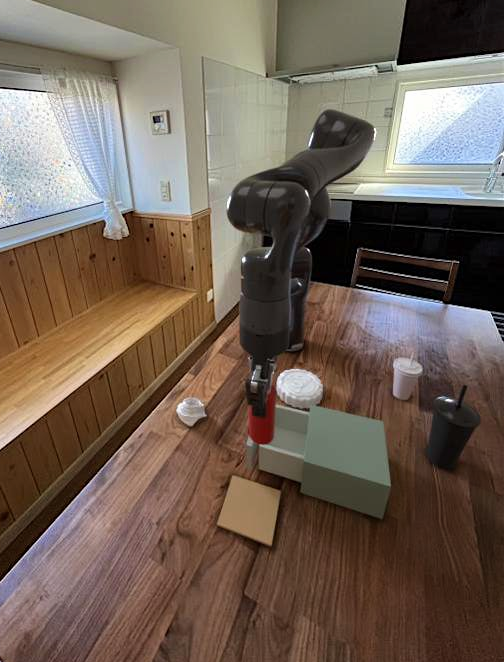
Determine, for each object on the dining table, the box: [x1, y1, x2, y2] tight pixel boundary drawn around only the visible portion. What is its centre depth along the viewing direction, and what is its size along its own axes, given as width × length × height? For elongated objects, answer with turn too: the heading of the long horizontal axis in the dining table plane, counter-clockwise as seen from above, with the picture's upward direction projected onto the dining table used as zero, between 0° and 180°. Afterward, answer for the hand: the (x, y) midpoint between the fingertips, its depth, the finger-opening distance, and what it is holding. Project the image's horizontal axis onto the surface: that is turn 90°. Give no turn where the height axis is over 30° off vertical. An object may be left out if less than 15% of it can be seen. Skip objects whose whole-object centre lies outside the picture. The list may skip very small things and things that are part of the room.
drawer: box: [245, 404, 310, 483], centre depth 72 cm, size 15×13×7 cm
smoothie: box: [392, 350, 424, 401], centre depth 85 cm, size 6×6×14 cm
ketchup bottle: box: [248, 379, 277, 445], centre depth 57 cm, size 4×4×12 cm
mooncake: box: [275, 368, 324, 410], centre depth 90 cm, size 12×12×4 cm
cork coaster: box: [216, 474, 282, 548], centre depth 64 cm, size 10×10×1 cm
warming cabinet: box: [300, 405, 392, 520], centre depth 68 cm, size 15×15×9 cm
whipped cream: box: [176, 397, 208, 427], centre depth 85 cm, size 8×7×5 cm
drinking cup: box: [426, 384, 482, 470], centre depth 67 cm, size 8×8×20 cm
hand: (262, 404), depth 57 cm, fingers closed on ketchup bottle, 4 cm apart
